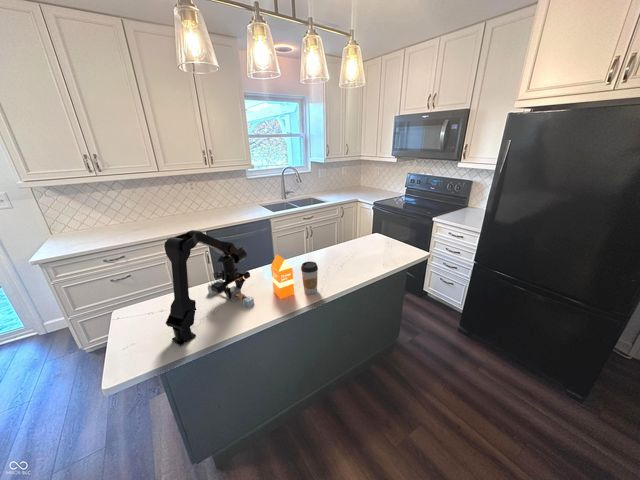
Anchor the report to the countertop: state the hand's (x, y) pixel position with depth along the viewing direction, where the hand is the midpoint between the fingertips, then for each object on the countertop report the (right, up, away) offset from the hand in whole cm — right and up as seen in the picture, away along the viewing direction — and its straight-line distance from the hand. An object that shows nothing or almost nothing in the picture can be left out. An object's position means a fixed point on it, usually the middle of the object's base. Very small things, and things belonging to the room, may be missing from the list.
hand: (234, 296), depth 127 cm
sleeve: (0, -1, 0) cm, 1 cm away
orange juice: (+24, +1, +4) cm, 24 cm away
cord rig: (-1, -1, +1) cm, 2 cm away
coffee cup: (+38, +1, +5) cm, 38 cm away
